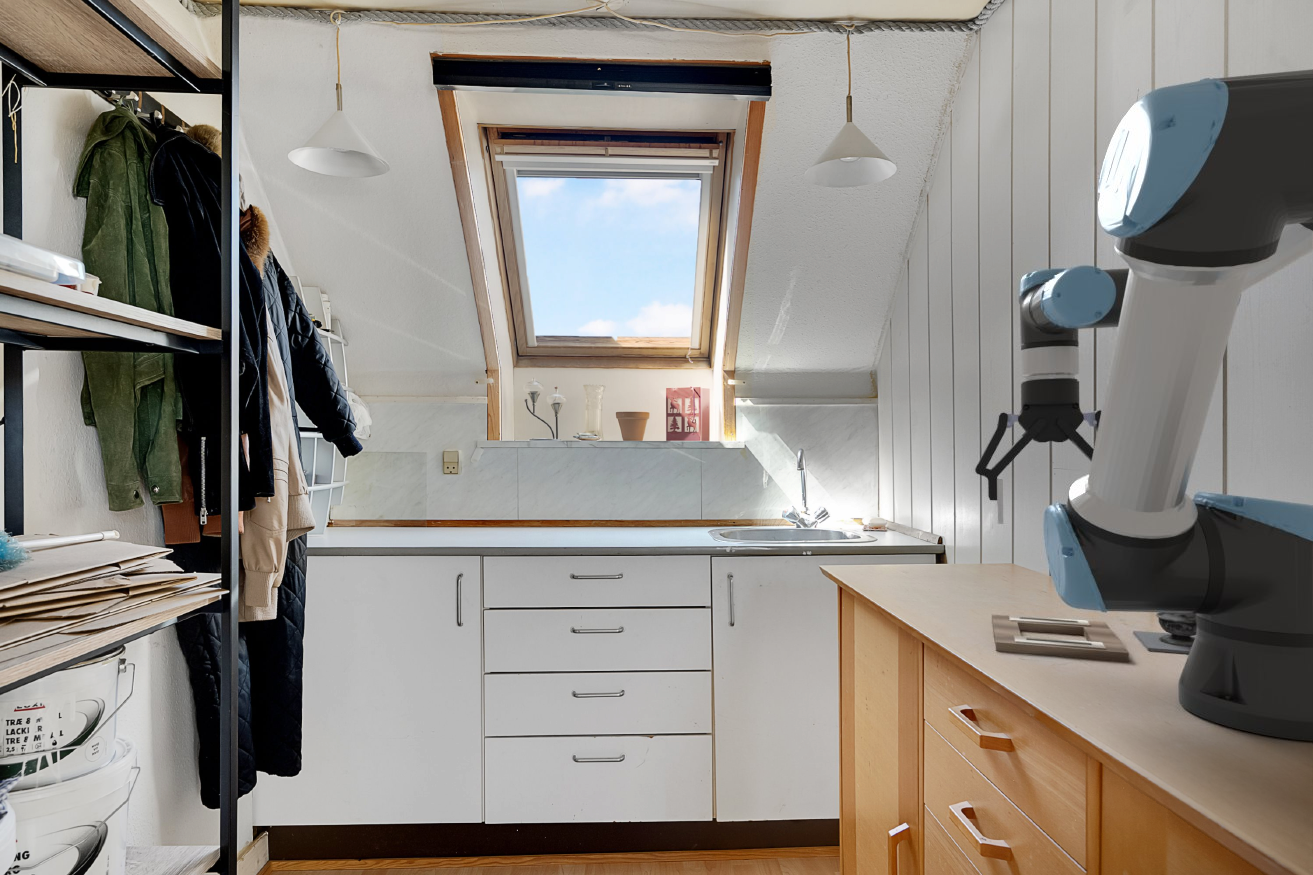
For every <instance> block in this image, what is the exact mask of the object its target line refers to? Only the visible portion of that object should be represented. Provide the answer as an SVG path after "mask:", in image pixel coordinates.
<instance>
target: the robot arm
mask: <svg viewBox="0 0 1313 875" xmlns="http://www.w3.org/2000/svg"><path fill="white" fill-rule="evenodd" d="M1097 193H1098V195H1099V200H1098V202H1097V215H1098V221H1099V224H1100V226H1101V229H1103V231H1104V232H1106V233H1107V234H1108V235H1110V236H1114V237H1115V240H1114V241H1115V242H1114V246H1113V247H1114V251H1115V252H1116V253H1117V254H1118V255H1119V256H1120V258H1122V260H1123V261H1124V262H1126V263H1127V265H1128V266H1129V267H1128V268H1111V269H1110V268H1109V269H1101V268H1100V267H1096V266H1093V265H1087V264H1086V265H1085V264H1084V265H1078V266H1073V267H1070V268H1064V267H1063V268H1047V269H1040V270H1035V271H1033V272H1028V273H1026V274H1025V275H1023V276H1022V278H1021V280H1020V286H1019V288H1020V289H1019V295H1018V302H1019V303H1018V304H1019V321H1020V323H1019V325H1020V326H1019V328H1020V376H1021V377H1022V378H1025V379H1024V380H1023V381H1022V383H1020V400H1021V401H1020V411H1019V413H1018V414H1011V413H1006V412H1000V413H999V414H998V416H997V424H996V425H997V426H996V428H995V430H994V432H993V433H992V436H991V437H990V440H989V441H988V443H987V445H986V448H985V449H984V451H983V453H982V455H981V457H980V458H979V461H978V463H977V464H976V466H975V468H974V471H975V474H977V475H979V476H982V477H985V478H987V485H988V487H987V489H988V490H987V491H988V492H987V493H988V494H987V496H988V499H989V501H996V522H997V524H999V525H1003V524H1004V480H1003V478H998V477H999V476H1000V474H1002V472H1003V471H1004V470H1005V469H1006V468H1007V467H1008V466H1009V465H1010V464H1011V463H1012V462H1013V460H1015V458H1017V456H1018V455H1019V454H1020V453H1021V452H1022V451H1023V450H1024V448H1025V447H1026V446H1027V445H1028V444H1030V442H1031V441H1032V440H1033V441H1034V442H1037V443H1047V442H1048V443H1049V442H1054V443H1064V442H1066V441H1070V442H1071V443H1072V444H1073V445H1074V446H1076V448H1077V449H1079V451H1080V452H1081V453H1082V454H1083V455H1084V456H1085V457H1086V458H1087V459H1088V460H1089V462H1091V463H1090V468H1089V471H1088V472H1089V473H1087V474H1085V475H1083V476H1081V477H1079V478H1077V479H1076V480H1075V481H1073V483H1072V485H1071V486H1070V487H1069V488H1070V489H1069V491H1068V498H1067V501H1066V504H1065V503H1062V502H1061V503H1060V502H1057V503H1055V504H1050V505H1049V506H1048V507H1046V508H1045V510H1044V513H1043V539H1044V548H1045V554H1046V560H1047V564H1048V568H1049V573H1050V577H1051V580H1052V582H1053V585H1054V588H1055V591H1056V594H1057V595H1058V596H1059V598H1060V599H1061V601H1063V603H1064V604H1066V605H1067V606H1069V607H1071V608H1073V609H1078V610H1088V611H1098V612H1101V613H1107V612H1125V613H1127V612H1128V613H1129V612H1130V613H1131V612H1132V613H1160V612H1164V613H1189V614H1191V613H1192V614H1196V616H1197V633H1196V637H1195V640H1194V643H1193V645H1192V648H1191V650H1190V653H1189V654H1187V655H1188V656H1187V658H1186V661H1185V663H1184V665H1183V669H1182V671H1181V674H1180V677H1179V680H1178V702H1179V704H1180V705H1181V706H1182V707H1183V708H1184V710H1185V709H1186V710H1187V711H1189V712H1190V713H1192V714H1194V715H1195V716H1198V717H1200V718H1203V719H1205V720H1208V721H1211V722H1213V723H1215V724H1218V725H1219V724H1220V725H1223V726H1226V727H1229V728H1232V729H1237V730H1240V731H1245V732H1249V733H1254V734H1259V735H1264V736H1268V737H1269V736H1270V737H1274V738H1275V737H1276V738H1281V739H1290V740H1296V741H1297V740H1299V741H1308V742H1309V741H1311V742H1313V504H1306V503H1298V502H1290V501H1281V500H1276V499H1275V500H1273V499H1266V498H1257V497H1250V496H1249V497H1248V496H1241V495H1240V496H1239V495H1233V494H1224V493H1216V492H1206V491H1198V492H1196V493H1195V494H1194V496H1193V498H1191V497H1190V495H1188V494H1187V493H1186V491H1187V488H1188V485H1189V481H1190V477H1191V474H1192V471H1193V466H1194V462H1195V459H1196V456H1197V452H1198V449H1199V446H1200V442H1201V437H1202V434H1203V430H1204V427H1205V424H1206V420H1207V416H1208V413H1209V409H1210V406H1211V402H1212V399H1213V395H1214V391H1215V388H1216V384H1217V380H1218V378H1219V373H1220V370H1221V366H1222V363H1223V359H1224V355H1225V352H1226V349H1227V344H1228V342H1229V337H1230V334H1231V330H1232V326H1233V325H1234V324H1233V323H1234V319H1235V316H1236V312H1237V309H1238V306H1239V304H1240V301H1241V298H1242V293H1244V292H1245V291H1246V290H1249V289H1250V288H1252V287H1253V286H1255V285H1257V284H1258V283H1261V282H1262V281H1263V280H1266V279H1267V278H1269V277H1270V276H1272V275H1274V274H1276V273H1277V272H1279V271H1281V270H1283V269H1285V268H1286V267H1288V266H1290V265H1291V264H1293V263H1295V262H1296V261H1298V260H1300V259H1301V258H1303V257H1305V256H1307V255H1308V254H1310V253H1312V252H1313V69H1302V70H1301V69H1300V70H1291V71H1282V72H1270V73H1269V72H1268V73H1258V74H1250V75H1249V74H1248V75H1239V76H1229V77H1217V78H1215V77H1214V78H1210V77H1207V78H1202V79H1200V80H1197V81H1193V82H1192V81H1191V82H1187V83H1181V84H1175V85H1169V86H1164V87H1163V86H1162V87H1159V88H1157V89H1154V90H1152V91H1150V92H1148V93H1146V94H1145V95H1143V96H1142V97H1141V98H1140V99H1138V100H1136V102H1135V103H1134V104H1133V105H1132V106H1130V108H1129V109H1128V111H1127V113H1126V114H1125V115H1124V116H1123V117H1122V119H1121V121H1120V123H1119V124H1118V126H1117V128H1116V130H1115V132H1114V134H1113V136H1112V138H1111V140H1110V143H1109V145H1108V148H1107V151H1106V153H1105V156H1104V159H1103V163H1102V168H1101V171H1100V176H1099V182H1098V189H1097ZM1103 328H1104V329H1107V328H1117V331H1116V334H1115V340H1114V346H1113V351H1112V356H1111V360H1110V361H1111V362H1110V366H1109V371H1108V375H1107V377H1108V378H1107V382H1106V386H1105V392H1104V397H1103V402H1102V406H1101V410H1100V409H1099V410H1095V411H1093V412H1084V413H1083V412H1082V410H1081V408H1080V381H1079V380H1078V378H1076V377H1075V376H1077V375H1079V374H1080V355H1079V354H1080V353H1079V348H1080V347H1079V343H1080V342H1079V330H1082V329H1103ZM1084 421H1086V422H1087V423H1088V425H1089V426H1090V427H1094V429H1095V431H1096V435H1095V436H1096V438H1095V441H1094V442H1095V443H1094V447H1092V446H1091V445H1090V444H1089V443H1088V442H1087V441H1086V440H1085V439H1084V436H1082V435H1081V434H1080V432H1078V431H1077V430H1078V428H1080V426H1081V425H1082V424H1083V422H1084ZM1017 422H1018V424H1019V426H1021V428H1022V429H1023V430H1024V432H1023V434H1021V436H1020V437H1019V438H1018V439H1017V440H1016V442H1014V444H1013V445H1012V446H1011V447H1010V448H1009V449H1008V450H1007V451H1006V452H1005V453H1004V455H1002V456H1001V458H1000V459H999V460H998V461H997V462H996V463H995V464H994V465H993V467H991V469H990V468H988V465H989V463H990V462H991V460H992V458H993V456H994V454H995V452H996V450H997V449H998V446H999V444H1000V443H1001V441H1002V440H1003V439H1002V438H1003V437H1004V435H1005V433H1006V431H1007V429H1011V428H1012V427H1013V425H1014V423H1017Z"/></svg>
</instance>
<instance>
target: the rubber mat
mask: <svg viewBox="0 0 1313 875" xmlns="http://www.w3.org/2000/svg"><path fill="white" fill-rule="evenodd" d="M1132 634H1133V635H1134V637H1136V639H1137V640H1138V641H1139V642H1140V643H1141V644H1142V646H1143V647H1144V648H1145V649H1146V650H1147V651H1150V652H1159V653H1160V652H1161V653H1173V654H1175V653H1176V654H1184V655H1185V654H1187V655H1189V653H1190V650H1191V648H1192V647H1185V646H1176V645H1171V644H1167V643H1164V642H1161V641H1160V640H1159V637H1162V636H1163V635H1172V634H1170V633H1168V632H1155V631H1154V632H1153V631H1141V630H1133V631H1132ZM1190 637H1194V638H1195V637H1196V635H1194V636H1190Z"/></svg>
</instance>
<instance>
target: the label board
mask: <svg viewBox="0 0 1313 875" xmlns="http://www.w3.org/2000/svg"><path fill="white" fill-rule="evenodd" d="M991 624H992V633H993V639H994V646H995V651H996V652H1007V653H1008V652H1009V653H1021V654H1031V655H1044V656H1057V657H1067V658H1076V659H1077V658H1078V659H1087V660H1088V659H1089V660H1091V659H1092V660H1103V661H1114V662H1124V663H1125V662H1126V663H1129V662H1130V658H1129V657H1130V653H1129V651H1128V650H1127V649H1126V647H1125V646H1124V645H1123V643H1122V642H1121V641H1120V639H1119V638H1118V637H1117V636H1116V634H1115V633H1114V632H1113V631H1112V629H1111V628H1110V627H1109V625H1108V623H1107V622H1105V621H1093V620H1086V619H1085V620H1084V619H1069V618H1053V617H1041V616H1027V615H1025V616H1024V615H1014V614H1012V615H1011V614H1009V615H1006V614H991ZM1021 631H1026V632H1038V633H1039V632H1040V633H1051V634H1062V635H1063V634H1066V635H1078V636H1079V635H1080V636H1084V639H1086V640H1077V639H1076V640H1075V639H1065V638H1064V639H1062V638H1050V637H1037V636H1036V637H1035V636H1026V635H1025V636H1024V635H1023V636H1022V634H1021Z"/></svg>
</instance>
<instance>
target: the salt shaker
mask: <svg viewBox="0 0 1313 875" xmlns="http://www.w3.org/2000/svg"><path fill="white" fill-rule="evenodd" d="M1155 617H1156V618H1158V623H1159V625H1160V627H1161V629H1162V630H1163V631H1165V633H1170V634H1172V635H1163V636H1162V637H1159V640H1160V641H1161V642H1164V643H1167V644H1171V645H1176V646H1185V647H1192V645H1193V643H1194V640H1195V638H1194V637H1190V636H1194V635H1196V633H1197V616H1196V614H1192V613H1191V614H1189V613H1164V612H1156V614H1155Z"/></svg>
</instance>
